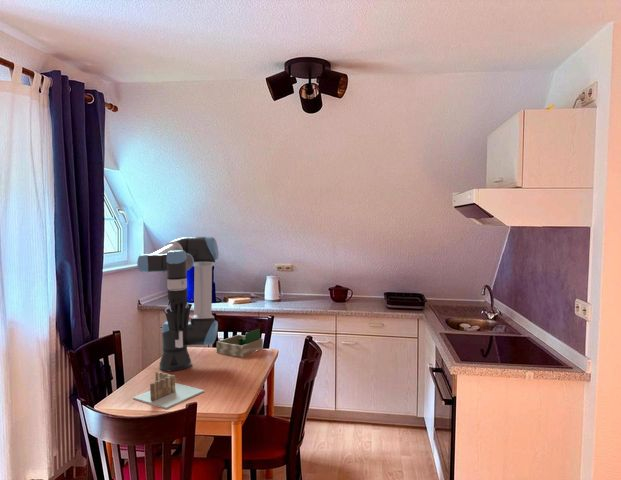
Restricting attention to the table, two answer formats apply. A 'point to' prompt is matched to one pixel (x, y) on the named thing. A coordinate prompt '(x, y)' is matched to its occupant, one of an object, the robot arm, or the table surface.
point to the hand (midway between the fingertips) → (179, 346)
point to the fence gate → (160, 388)
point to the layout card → (170, 396)
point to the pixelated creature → (250, 337)
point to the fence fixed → (162, 375)
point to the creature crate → (238, 346)
